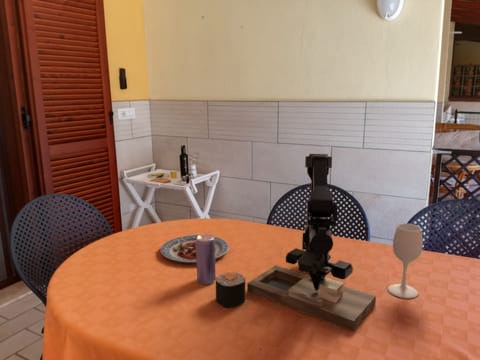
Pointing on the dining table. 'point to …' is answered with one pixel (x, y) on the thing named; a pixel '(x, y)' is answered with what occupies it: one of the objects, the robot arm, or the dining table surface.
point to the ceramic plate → (189, 248)
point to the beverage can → (205, 259)
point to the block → (331, 290)
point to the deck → (311, 297)
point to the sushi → (230, 289)
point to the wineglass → (406, 256)
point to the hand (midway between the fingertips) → (316, 290)
